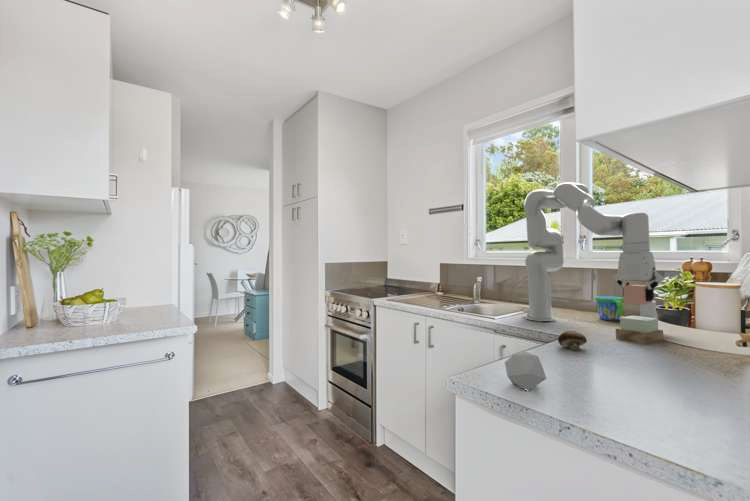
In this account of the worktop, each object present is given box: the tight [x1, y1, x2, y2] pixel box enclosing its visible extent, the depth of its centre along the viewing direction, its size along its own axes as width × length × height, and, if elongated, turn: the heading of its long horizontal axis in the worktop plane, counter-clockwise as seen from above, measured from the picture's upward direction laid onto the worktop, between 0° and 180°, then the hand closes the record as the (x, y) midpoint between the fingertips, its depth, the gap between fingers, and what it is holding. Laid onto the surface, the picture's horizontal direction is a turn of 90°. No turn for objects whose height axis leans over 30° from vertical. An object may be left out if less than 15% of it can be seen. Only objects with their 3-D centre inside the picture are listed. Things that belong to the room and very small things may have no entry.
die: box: [504, 350, 547, 391], centre depth 81 cm, size 8×9×10 cm
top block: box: [619, 314, 659, 333], centre depth 122 cm, size 8×8×4 cm
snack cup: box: [594, 295, 624, 322], centre depth 159 cm, size 16×10×10 cm
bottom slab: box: [615, 327, 664, 346], centre depth 122 cm, size 10×10×4 cm
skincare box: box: [639, 300, 658, 318], centre depth 131 cm, size 6×4×12 cm
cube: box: [623, 284, 654, 305], centre depth 122 cm, size 6×6×6 cm
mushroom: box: [557, 330, 588, 351], centre depth 112 cm, size 8×8×6 cm
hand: (638, 299), depth 122 cm, fingers closed on cube, 6 cm apart
